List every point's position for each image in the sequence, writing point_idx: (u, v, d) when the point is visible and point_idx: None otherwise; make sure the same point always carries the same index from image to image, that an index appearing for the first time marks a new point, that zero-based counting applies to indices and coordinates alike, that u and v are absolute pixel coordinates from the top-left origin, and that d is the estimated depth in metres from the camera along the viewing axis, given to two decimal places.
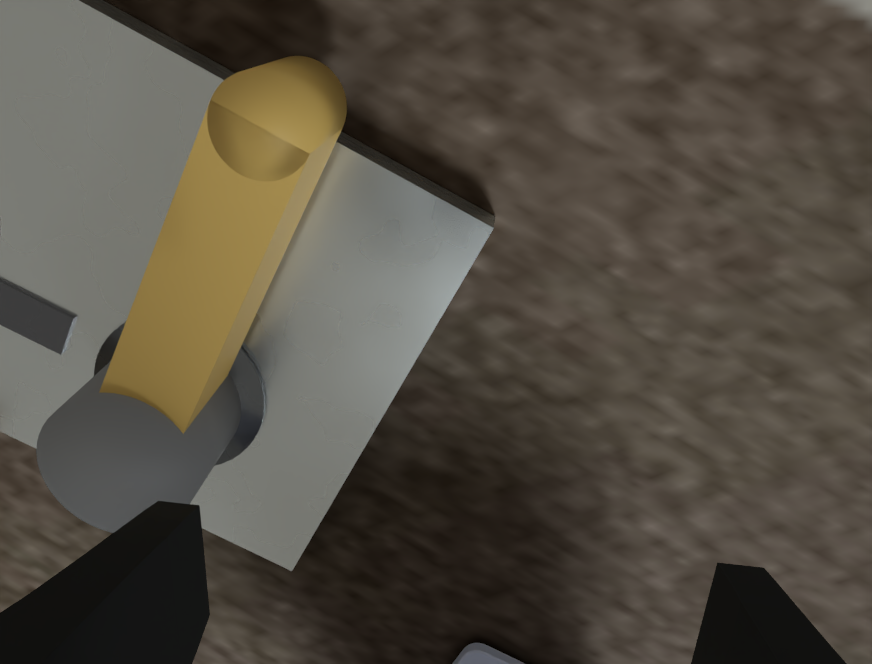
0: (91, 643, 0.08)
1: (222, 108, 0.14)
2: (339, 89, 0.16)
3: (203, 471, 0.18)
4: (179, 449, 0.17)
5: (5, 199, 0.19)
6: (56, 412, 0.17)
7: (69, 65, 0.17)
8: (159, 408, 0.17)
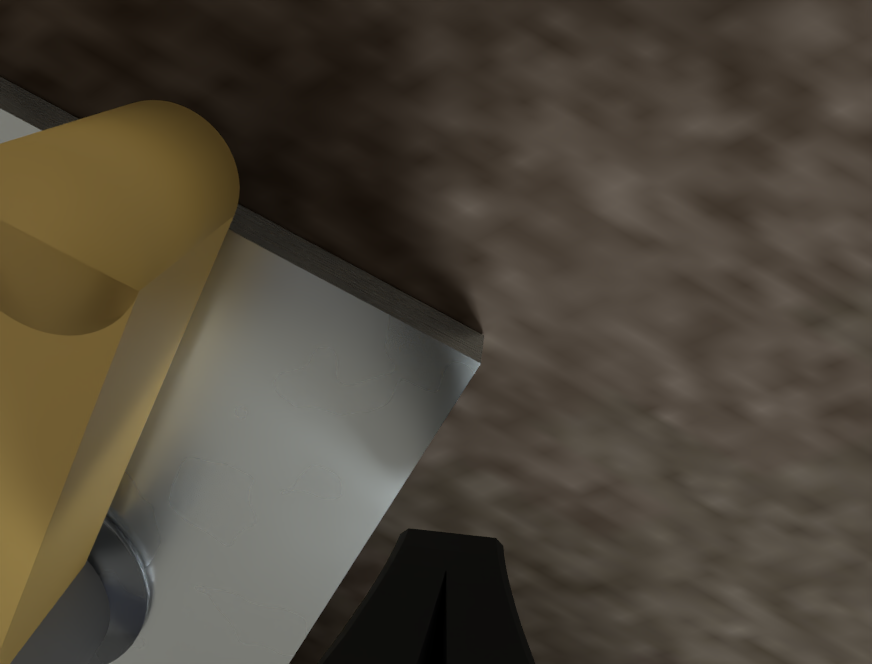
0: None
1: None
2: (222, 156, 0.10)
3: None
4: None
5: None
6: None
7: None
8: None
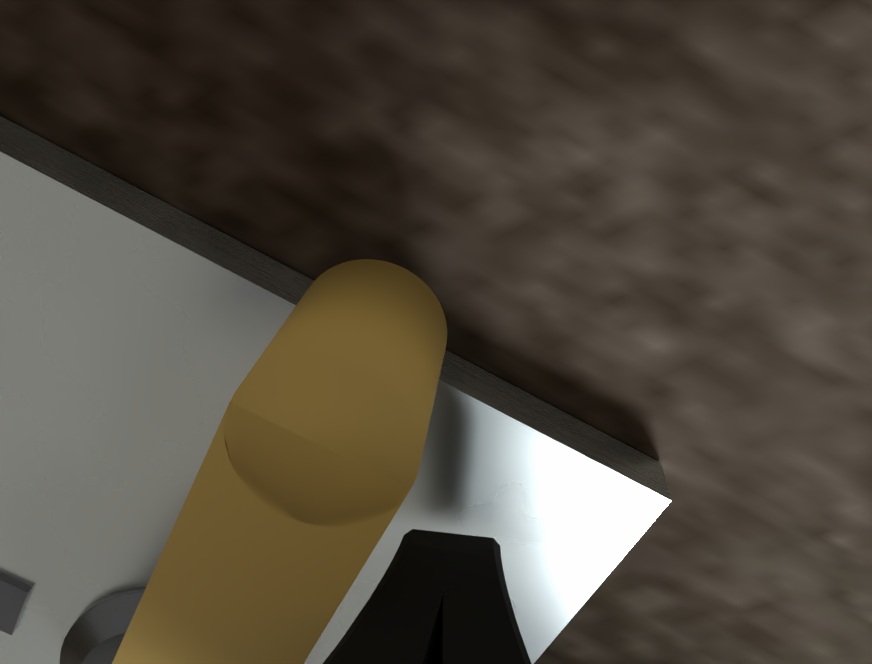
0: None
1: (251, 415, 0.08)
2: (438, 316, 0.10)
3: None
4: None
5: None
6: None
7: (10, 256, 0.11)
8: None
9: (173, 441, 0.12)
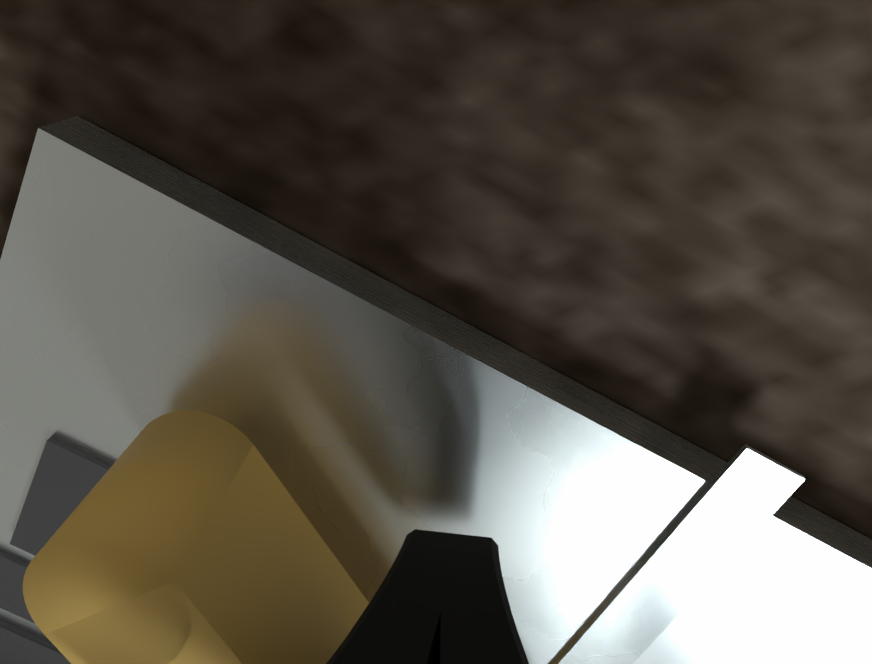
0: None
1: (61, 630, 0.09)
2: (194, 423, 0.11)
3: None
4: None
5: None
6: None
7: (386, 411, 0.11)
8: None
9: (513, 577, 0.12)
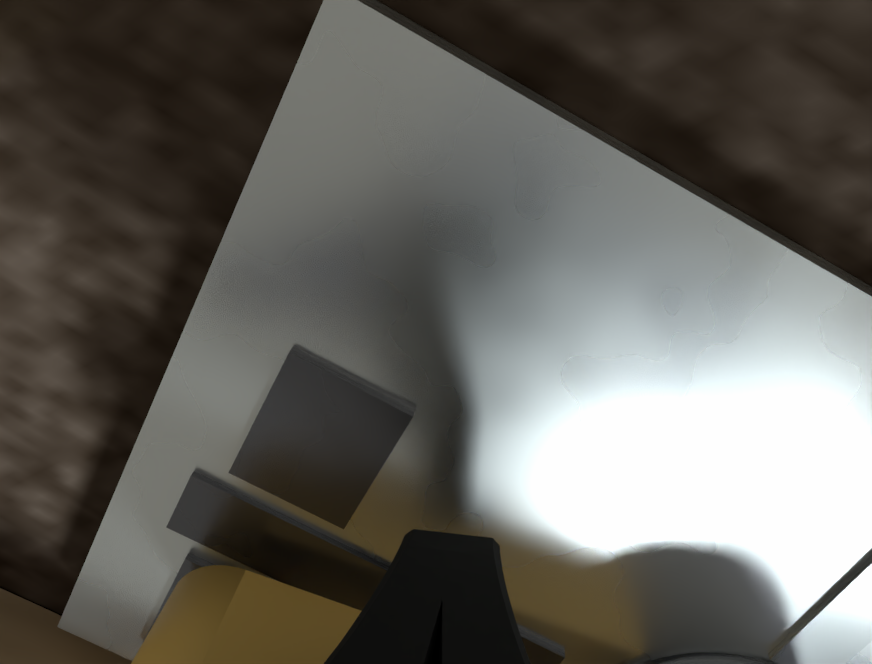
0: None
1: None
2: (187, 583, 0.12)
3: None
4: None
5: (499, 496, 0.12)
6: None
7: (680, 314, 0.10)
8: None
9: (792, 506, 0.11)
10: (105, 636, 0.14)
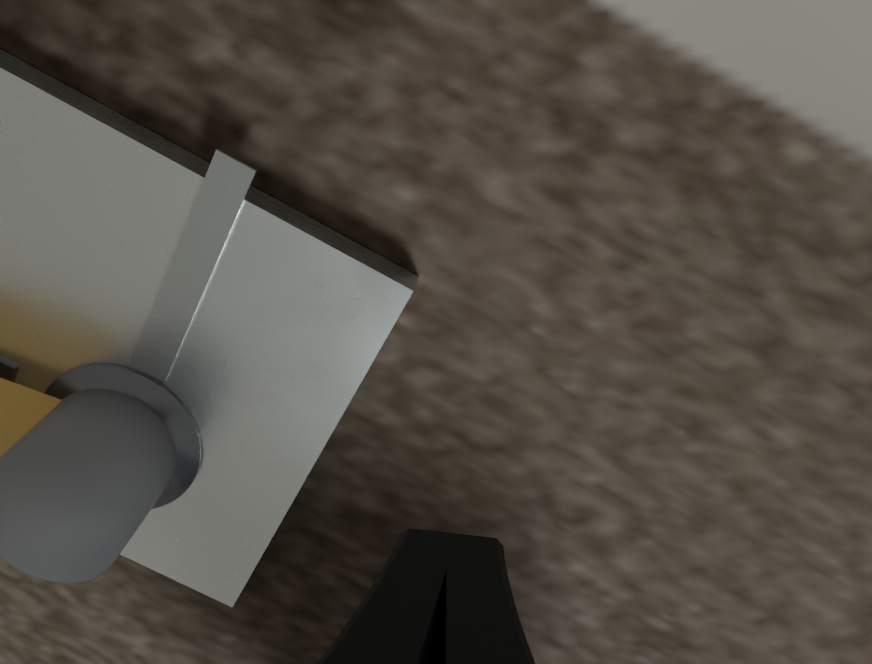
0: None
1: None
2: None
3: (49, 442, 0.18)
4: None
5: None
6: (7, 560, 0.19)
7: (4, 133, 0.18)
8: None
9: (106, 257, 0.19)
10: None
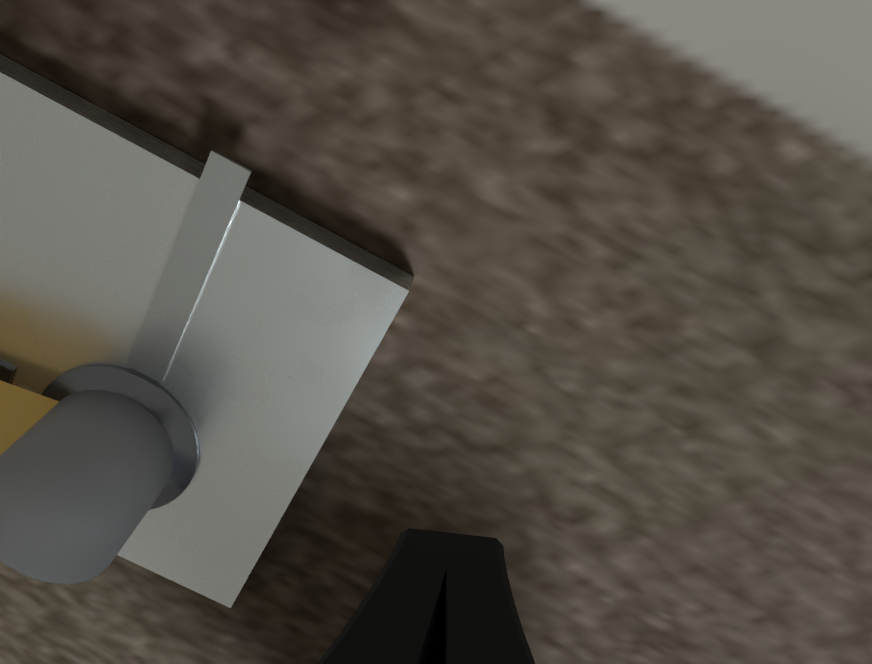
0: None
1: None
2: None
3: (46, 443, 0.18)
4: None
5: None
6: (5, 562, 0.19)
7: (0, 135, 0.18)
8: None
9: (102, 258, 0.19)
10: None
